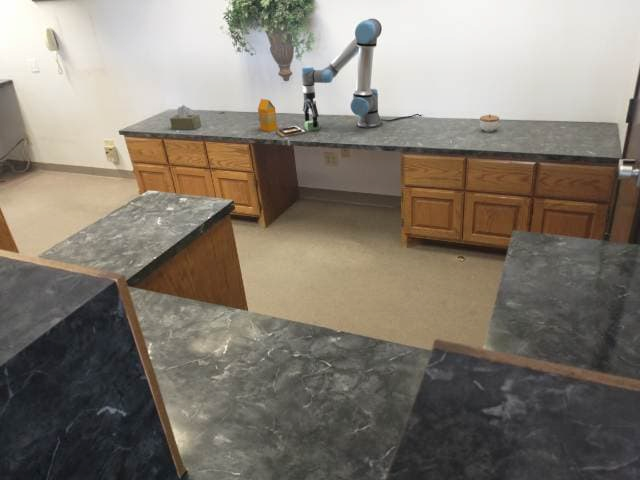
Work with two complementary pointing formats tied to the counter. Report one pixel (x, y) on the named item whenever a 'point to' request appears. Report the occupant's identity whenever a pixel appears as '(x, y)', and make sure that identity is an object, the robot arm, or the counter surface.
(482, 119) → the trinket box
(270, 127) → the orange juice
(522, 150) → the counter surface
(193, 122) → the tissue box
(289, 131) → the tan flat rectangular frame
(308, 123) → the pale green block
